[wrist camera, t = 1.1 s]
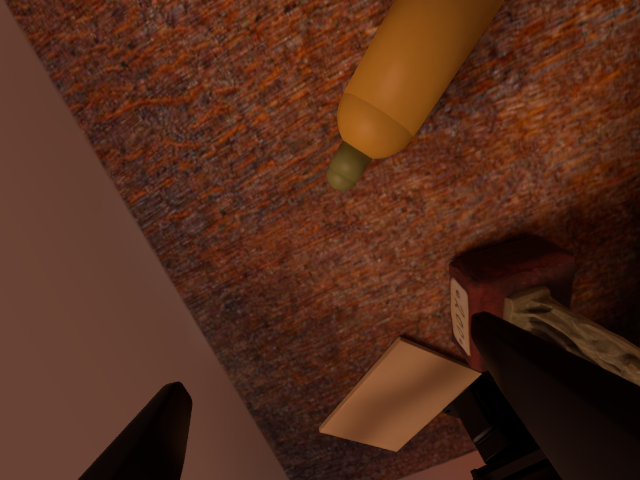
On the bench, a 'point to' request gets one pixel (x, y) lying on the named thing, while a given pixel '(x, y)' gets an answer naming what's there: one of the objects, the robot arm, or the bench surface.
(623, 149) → the bench surface
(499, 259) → the sculpture
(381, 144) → the orange rounded cylinder
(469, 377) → the birch board
